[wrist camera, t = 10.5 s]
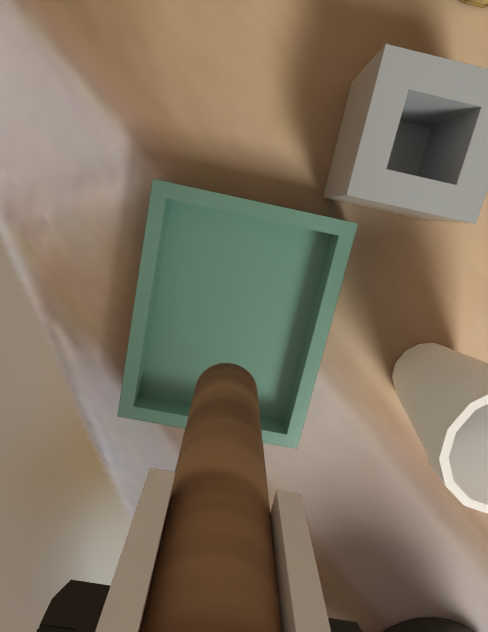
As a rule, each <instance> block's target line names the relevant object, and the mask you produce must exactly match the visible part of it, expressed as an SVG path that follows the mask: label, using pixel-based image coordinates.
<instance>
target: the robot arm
mask: <svg viewBox="0 0 488 632" xmlns="http://www.w3.org/2000/svg"><path fill="white" fill-rule="evenodd" d="M174 477H175V472H171V471H166V470H160V469H154V468H150V470H149V473H148V476H147V479H146V482H145V485H144V488H143V491H142V494H141V497H140V500H139V503H138V506H137V509H136V512H135V515H134V518H133V521H132V524H131V527H130V530H129V533H128V536H127V539H126V542H125V545H124V547H123V551H122V553H121V556H120V559H119V562H118V565H117V569H116V571H115V575H114V577H113V580H112V583H111V586H109V585H102V584H96V583H89V582H83V581H75V580H70V581H69V582H68V583H67V584H66V585H65V586H64V587H63V588H62V589H61V590H60V591H59V592H58V593H57V594H56V595H55V596H54V597H53V598H52V600H51V602H50V604H49V606H48V608H47V611H46V613H45V615H44V617H43V619H42V621H41V624H40V627H39V629H37V632H139V631H140V627H141V623H142V619H143V614H144V610H145V606H146V601H147V597H148V593H149V588H150V584H151V580H152V575H153V571H154V567H155V562H156V558H157V554H158V550H159V545H160V541H161V537H162V532H163V528H164V524H165V519H166V515H167V511H168V506H169V502H170V498H171V493H172V487H173V482H174ZM270 518H271V527H272V537H273V547H274V556H275V566H276V576H277V585H278V595H279V604H280V614H281V624H282V632H362V630H361V629H360V627H359V626H358V624H357V622H352V621H345V620H339V619H332V618H328V616H327V611H326V606H325V602H324V597H323V593H322V588H321V583H320V579H319V574H318V570H317V565H316V561H315V556H314V551H313V547H312V542H311V538H310V533H309V528H308V524H307V519H306V515H305V510H304V506H303V501H302V496H301V494H298V493H292V492H287V491H281V490H277V491H276V494H275V498H274V502H273V506H272V510H271V513H270ZM385 632H473V631H471V630H470V629H468V628H467V627H465V626H463V625H461V624H459V623H456V622H453V621H449V620H444V619H418V620H413V621H409V622H405V623H402V624H399V625H397V626H395V627H393V628H391V629H389V630H387V631H385Z"/></svg>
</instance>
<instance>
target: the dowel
mask: <svg viewBox="0 0 488 632" xmlns="http://www.w3.org/2000/svg"><path fill="white" fill-rule="evenodd" d="M139 632H282V624H281V614H280V604H279V595H278V585H277V576H276V566H275V556H274V547H273V537H272V527H271V518H270V508H269V498H268V489H267V479H266V469H265V460H264V450H263V441H262V431H261V421H260V412H259V402H258V392H257V385H256V382H255V380H254V378H253V376H252V375H251V374H250V373H249V372H248V371H247V370H246V369H245V368H243V367H241V366H239V365H236V364H233V363H219V364H216V365H213V366H211V367H209V368H208V369H206V370H205V371H204V372H203V373H202V374H201V375H200V377H199V378H198V380H197V383H196V386H195V390H194V395H193V399H192V403H191V407H190V411H189V416H188V420H187V424H186V428H185V432H184V437H183V441H182V445H181V449H180V454H179V458H178V462H177V466H176V470H175V477H174V482H173V487H172V493H171V498H170V502H169V506H168V511H167V515H166V519H165V524H164V528H163V532H162V537H161V541H160V545H159V550H158V554H157V558H156V562H155V567H154V571H153V575H152V580H151V584H150V588H149V593H148V597H147V601H146V606H145V610H144V614H143V619H142V623H141V627H140V631H139Z"/></svg>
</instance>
